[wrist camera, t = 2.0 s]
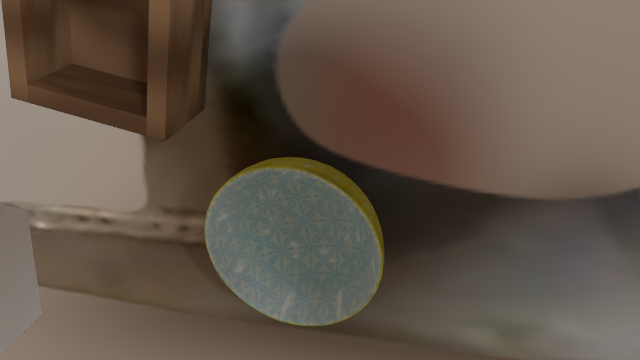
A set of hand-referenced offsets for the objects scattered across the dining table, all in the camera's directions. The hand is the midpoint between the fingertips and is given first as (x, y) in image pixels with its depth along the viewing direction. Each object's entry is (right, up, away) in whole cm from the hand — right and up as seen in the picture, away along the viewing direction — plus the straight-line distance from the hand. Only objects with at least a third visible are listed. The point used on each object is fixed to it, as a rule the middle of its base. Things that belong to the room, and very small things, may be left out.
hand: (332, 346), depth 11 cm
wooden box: (-12, +14, +27) cm, 33 cm away
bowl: (0, +2, +30) cm, 30 cm away
